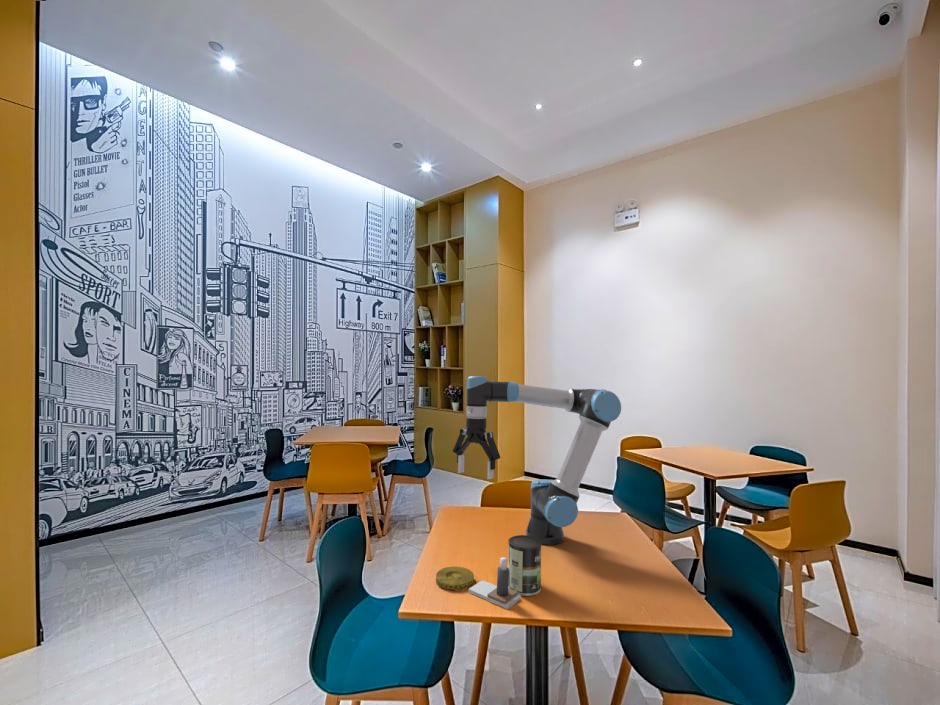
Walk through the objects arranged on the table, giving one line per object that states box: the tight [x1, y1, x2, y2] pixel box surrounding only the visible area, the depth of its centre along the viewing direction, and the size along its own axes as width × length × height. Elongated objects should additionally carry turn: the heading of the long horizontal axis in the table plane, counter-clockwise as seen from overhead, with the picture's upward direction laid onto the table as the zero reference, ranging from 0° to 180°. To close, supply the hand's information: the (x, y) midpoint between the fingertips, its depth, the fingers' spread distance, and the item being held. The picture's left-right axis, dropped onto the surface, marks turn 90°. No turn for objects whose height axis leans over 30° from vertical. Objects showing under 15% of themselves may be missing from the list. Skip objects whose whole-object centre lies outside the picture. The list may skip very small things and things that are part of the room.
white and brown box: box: [468, 580, 522, 610], centre depth 122 cm, size 7×14×2 cm, turn 52°
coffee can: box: [507, 534, 542, 597], centre depth 128 cm, size 10×10×14 cm
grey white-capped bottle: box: [496, 557, 509, 597], centre depth 121 cm, size 3×3×10 cm
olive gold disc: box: [435, 565, 475, 592], centre depth 131 cm, size 12×12×2 cm
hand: (475, 475), depth 151 cm, fingers open, 13 cm apart
